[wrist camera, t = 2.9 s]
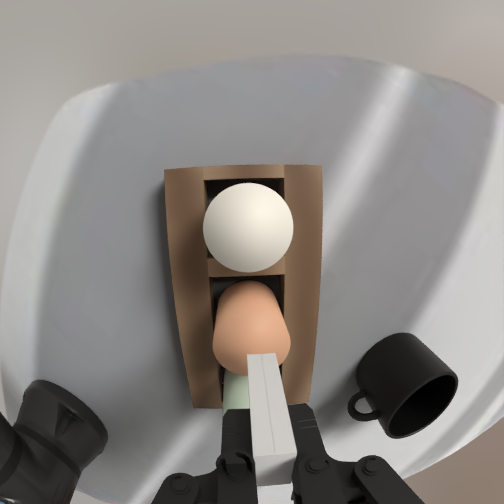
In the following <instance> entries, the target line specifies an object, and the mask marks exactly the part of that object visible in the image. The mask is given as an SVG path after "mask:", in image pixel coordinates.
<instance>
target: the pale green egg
mask: <svg viewBox="0 0 504 504" xmlns="http://www.w3.org/2000/svg"><path fill="white" fill-rule="evenodd" d="M248 408H250V405H249V387H248V376H243V375H238V374H235V373H233V372H231V371H229V370H227V369H226V370H225V373H224V391H223V416H224V414H225V413H226V411H227V410H228V409H248ZM222 420H223V419H222Z"/></svg>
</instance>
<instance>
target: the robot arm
mask: <svg viewBox="0 0 504 504" xmlns="http://www.w3.org/2000/svg"><path fill="white" fill-rule="evenodd" d="M247 364H248V387H249V405H250V408H248V409H228V410H227V411H226V413H225V414H224V416H223V423H222V445H221V455H220V456H219V457H218V458H217V461H216V467H217V468H216V469H215V470H214V471H212V472H211V473H208V474H204V475H200V476H195V477H193V476H191V475H189V474H186V473H175V474H172V475H170V476H168V477H167V478H166V479H165V480H164V481H163V483H162V485H161V487H160V489H159V490H158V492H157V494H156V496H155V498H154V500H153V501H152V503H151V504H258V497H257V486H269V485H280V484H289V483H291V481H292V483H293V492H292V496H291V500H294V504H424V502H423V501H422V500H421V499H420V498H419V497H418V496H417V495H416V494H415V493H414V492H413V491H412V489H411V488H410V487H409V486H408V485H407V484H406V483H405V482H404V481H403V480H402V479H401V477H400V476H399V475H398V474H397V473H396V472H395V471H394V470H393V469H392V467H391V466H390V465H389V464H388V463H387V462H386V461H385V460H384V459H383V458H381V457H379V456H376V455H369V456H365V457H363V458H361V459H360V460H358V462H342V461H337V460H334V459H333V458H331V457H330V456H329V455H328V454H327V453H326V451H325V448H324V445H323V442H322V438H321V435H320V432H319V429H318V427H317V423H316V420H315V416H314V413H313V410H312V409H311V408H310V407H309V406H308V405H307V404H306V403H303V404H294V405H287V403H286V399H285V394H284V389H283V385H282V380H281V376H280V371H279V366H278V362H277V357H276V353H267V354H247ZM107 441H108V435H107V431H106V429H105V427H104V425H103V424H102V422H101V421H100V420H99V418H98V417H97V416H96V415H95V414H94V413H93V412H92V411H91V410H90V409H89V408H88V407H87V406H86V405H85V404H84V403H83V402H82V401H80V400H79V399H78V398H77V397H75V396H74V395H72V394H71V393H70V392H68V391H66V390H65V389H63V388H61V387H60V386H58V385H56V384H53V383H51V382H48V381H44V380H36V381H33V382H32V383H31V384H30V385H29V387H28V388H27V389H26V390H25V392H24V395H23V402H22V405H21V408H20V411H19V414H18V418H17V421H16V423H15V424H14V425H13V427H12V426H11V425H10V424H9V422H8V421H7V420H6V419H5V417H4V416H3V415H2V413H1V412H0V504H70V501H71V498H72V496H73V493H74V490H75V488H76V485H77V482H78V480H79V477H80V475H81V472H82V471H83V469H84V468H86V467H87V466H88V465H89V464H90V463H91V462H92V461H93V460H94V459H95V458H96V457H97V456H98V455H99V454H101V453H102V452H103V450H104V448H105V445H106V443H107Z"/></svg>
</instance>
